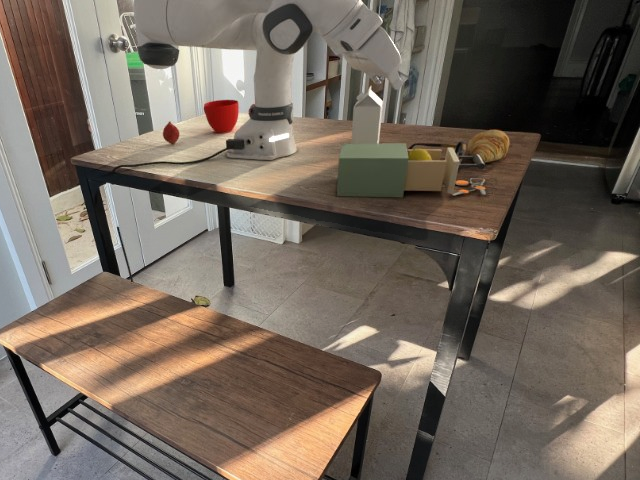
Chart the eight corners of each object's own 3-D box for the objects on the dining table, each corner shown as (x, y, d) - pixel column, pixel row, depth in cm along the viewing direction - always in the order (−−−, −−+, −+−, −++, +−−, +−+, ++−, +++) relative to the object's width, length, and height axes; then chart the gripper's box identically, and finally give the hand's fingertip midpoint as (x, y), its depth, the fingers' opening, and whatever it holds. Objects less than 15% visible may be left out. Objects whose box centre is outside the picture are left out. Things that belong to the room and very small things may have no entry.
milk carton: (377, 156, 128) (384, 85, 118) (375, 163, 123) (382, 90, 112) (352, 155, 130) (357, 86, 120) (349, 162, 125) (354, 90, 114)
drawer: (472, 177, 106) (479, 147, 102) (480, 194, 97) (488, 161, 93) (387, 176, 111) (390, 147, 107) (388, 192, 102) (392, 161, 98)
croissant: (485, 180, 115) (508, 155, 109) (453, 159, 117) (474, 133, 111) (502, 156, 128) (523, 133, 122) (473, 137, 130) (492, 113, 124)
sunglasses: (404, 155, 127) (407, 137, 124) (462, 157, 122) (466, 139, 119) (399, 170, 117) (401, 151, 114) (461, 174, 111) (466, 154, 108)
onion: (161, 146, 156) (157, 123, 151) (169, 142, 160) (166, 119, 155) (175, 147, 154) (172, 123, 149) (183, 142, 158) (180, 119, 153)
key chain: (456, 178, 108) (457, 175, 108) (489, 181, 105) (490, 177, 105) (448, 196, 99) (449, 192, 99) (484, 200, 96) (485, 196, 96)
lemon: (438, 178, 100) (428, 149, 96) (414, 188, 103) (402, 161, 98) (434, 166, 104) (424, 138, 100) (411, 176, 107) (399, 149, 102)
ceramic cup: (219, 124, 178) (216, 97, 173) (247, 129, 168) (245, 101, 162) (194, 131, 172) (190, 103, 166) (221, 136, 161) (219, 107, 155)
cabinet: (400, 179, 111) (405, 143, 106) (402, 197, 101) (408, 158, 96) (340, 179, 115) (342, 143, 110) (336, 195, 105) (338, 158, 100)
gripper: (321, 41, 93) (359, 90, 99) (353, 44, 76) (397, 103, 82) (344, 16, 91) (381, 67, 97) (382, 13, 74) (425, 76, 80)
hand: (389, 84), depth 89 cm, fingers open, 8 cm apart
